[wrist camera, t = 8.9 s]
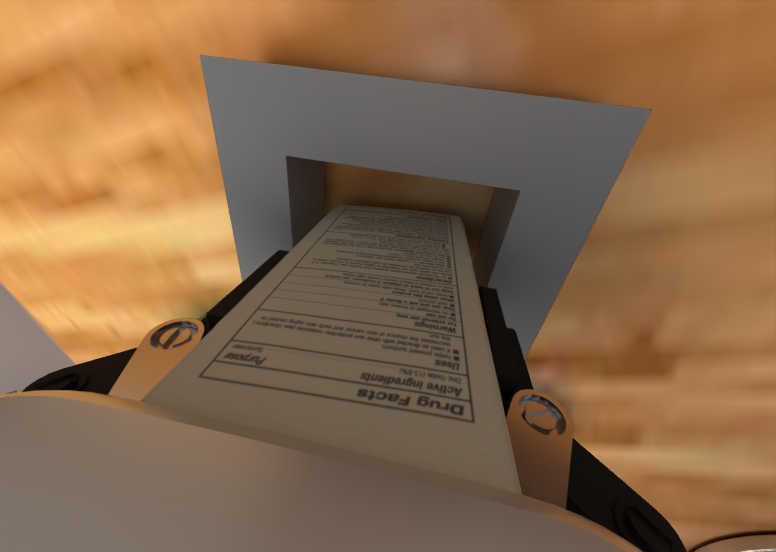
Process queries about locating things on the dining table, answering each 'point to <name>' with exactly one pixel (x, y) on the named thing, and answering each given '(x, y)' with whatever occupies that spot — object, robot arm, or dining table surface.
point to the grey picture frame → (420, 164)
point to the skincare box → (361, 349)
